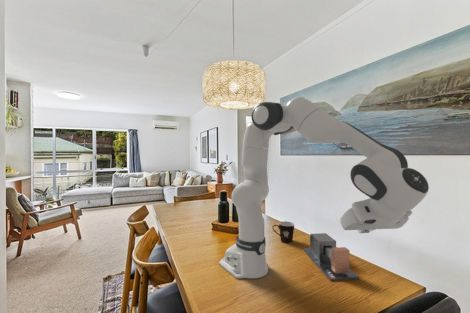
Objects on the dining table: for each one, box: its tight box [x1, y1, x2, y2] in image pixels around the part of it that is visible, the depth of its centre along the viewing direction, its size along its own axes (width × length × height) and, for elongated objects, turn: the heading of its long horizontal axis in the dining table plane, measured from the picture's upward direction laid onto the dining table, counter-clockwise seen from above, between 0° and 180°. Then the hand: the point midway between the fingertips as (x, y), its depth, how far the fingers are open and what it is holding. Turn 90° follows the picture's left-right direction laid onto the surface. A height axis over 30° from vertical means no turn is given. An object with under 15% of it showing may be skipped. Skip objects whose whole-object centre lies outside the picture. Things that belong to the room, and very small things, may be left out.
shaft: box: [324, 246, 350, 273], centre depth 101 cm, size 17×6×9 cm, turn 5°
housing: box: [302, 232, 360, 282], centre depth 105 cm, size 28×12×10 cm, turn 5°
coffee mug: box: [271, 220, 295, 244], centre depth 131 cm, size 12×9×10 cm
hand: (362, 231), depth 80 cm, fingers closed
